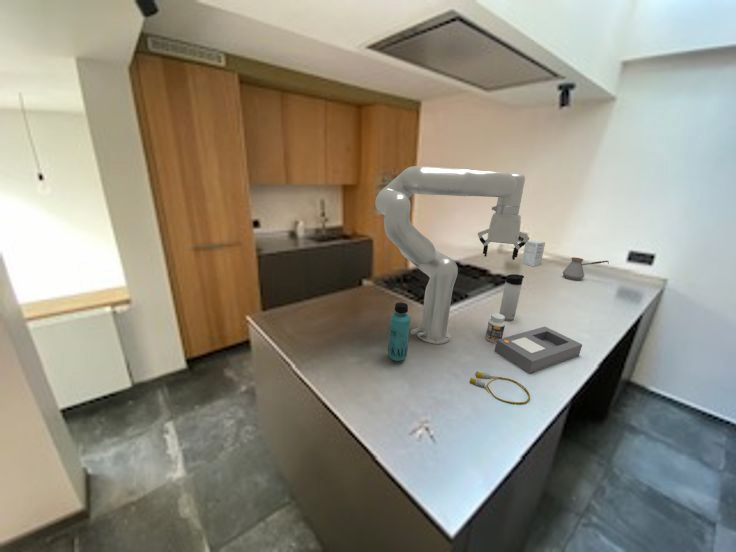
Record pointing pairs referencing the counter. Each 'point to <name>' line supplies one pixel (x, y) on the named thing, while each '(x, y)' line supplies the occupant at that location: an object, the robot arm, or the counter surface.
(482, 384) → the yellow connector cable
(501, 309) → the travel mug
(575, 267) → the coffee pot
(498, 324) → the pill bottle
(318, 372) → the counter surface
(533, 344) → the socket block
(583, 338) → the counter surface
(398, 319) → the beverage bottle
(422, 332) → the robot arm
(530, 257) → the supplement box
